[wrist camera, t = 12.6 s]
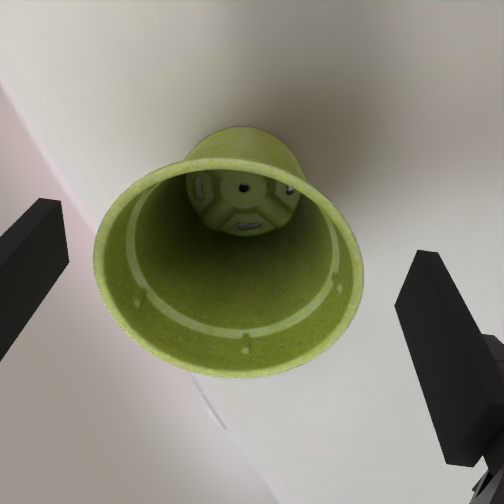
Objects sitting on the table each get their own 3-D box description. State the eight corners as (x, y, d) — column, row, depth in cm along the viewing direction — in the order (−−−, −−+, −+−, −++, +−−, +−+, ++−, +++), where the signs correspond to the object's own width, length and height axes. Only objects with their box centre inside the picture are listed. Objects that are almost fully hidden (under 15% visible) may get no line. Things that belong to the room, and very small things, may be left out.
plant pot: (174, 265, 25) (134, 384, 18) (129, 101, 20) (49, 177, 13) (336, 252, 24) (362, 373, 17) (331, 77, 19) (367, 143, 12)
